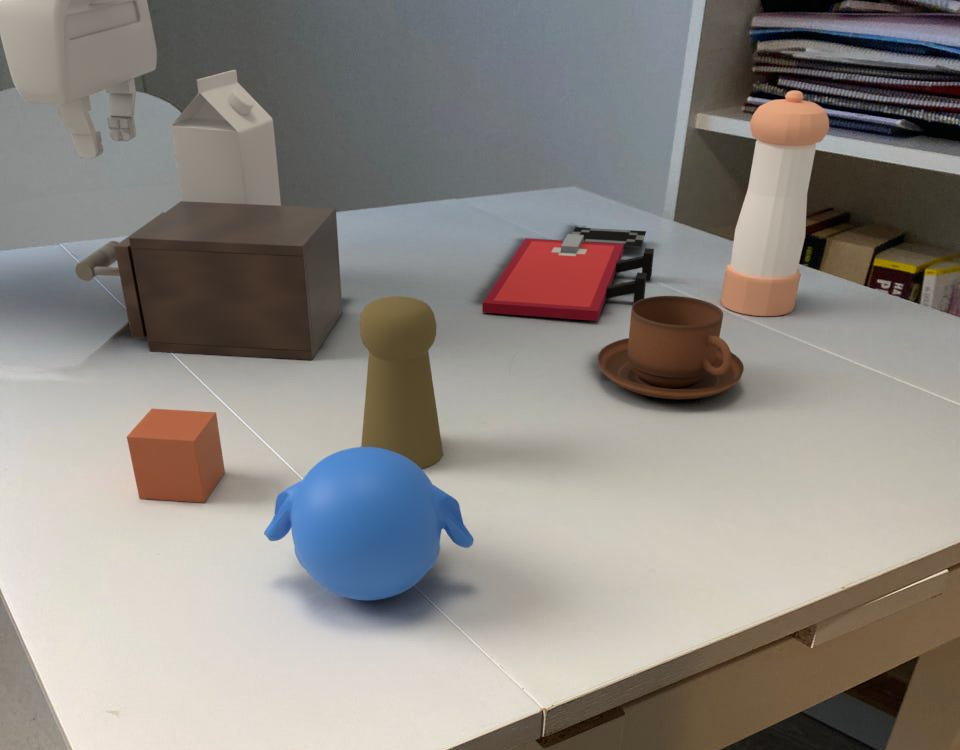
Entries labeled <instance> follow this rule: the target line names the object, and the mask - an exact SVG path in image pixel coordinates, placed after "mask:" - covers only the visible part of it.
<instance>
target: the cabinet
mask: <svg viewBox="0 0 960 750" xmlns="http://www.w3.org/2000/svg"><path fill="white" fill-rule="evenodd" d="M129 241H130V246H131V251H132V256H133V262H134V267H135V273H136V278H137V284H138V289H139V295H140V300H141V305H142V311H143V316H144V322H145V327H146V333H147V336H146V338H147V343H148V348H149V349H148V350H149V352H161V353H179V354H196V355H197V354H198V355H213V356H215V355H216V356H231V357H232V356H233V357H252V358H267V359H284V360H285V359H286V360H288V359H289V360H305V361H312V360H313V359H314V358H315V356H316V354H317V353H318V351H319V350H320V348H321V347H322V345H323V344H324V342H325V340H326V339H327V337H328V336H329V334H330V333H331V331H332V330H333V328H334V326H335V325H336V323H337V322H338V320H339V319H340V317H341V316H342V314H343V298H342V281H341V268H340V267H341V266H340V252H339V251H340V249H339V237H338V220H337V208H336V207H320V206H319V207H318V206H317V207H316V206H299V205H298V206H296V205H281V206H276V205H253V204H231V203H208V202H186V201H182V200H181V201H179V202H178V203H177V204H175V205H173V206H172V207H171V208H170V209H168V210H167V211H165V212H164V214H162V215H161V216H160V217H158V218H157V219H155V220H154V221H153V222H151V223H150V224H148V225H147V226H145V227H144V228H143V229H141V230H140V231H138V232H137V233H136V234H134V235H133V236H131V237H130V238H129Z"/></svg>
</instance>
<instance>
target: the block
mask: <svg viewBox="0 0 960 750" xmlns="http://www.w3.org/2000/svg"><path fill="white" fill-rule="evenodd" d="M126 440H127V445H128V446H127V447H128V449H129V454H130V460H131V464H132V469H133V475H134V478H135V483H136V488H137V494H138V498H139V499H143V500H144V499H145V500H159V501H173V502H188V503H190V502H191V503H203V504H204V503H206V501H207V500H208V498H209V497H210V495H211V493H212V492H213V490H214V489H215V487H216V486H217V485H218V483H219V482H220V480H221V479H222V478H223V476H224V474H225V472H226V471H225V463H224V456H223V450H222V444H221V443H222V442H221V436H220V429H219V423H218V417H217V412H216V411H202V410H201V411H200V410H199V411H198V410H182V409H169V408H168V409H167V408H151V409H150V410H149V411H148V412H147V413H146V415H145V416H143V418H142V419H141V420H140V421H139V422H138V423H137V424H136V426H134V428H133V429H132V430H131V431H130V432H129V433H128V434H127V436H126Z"/></svg>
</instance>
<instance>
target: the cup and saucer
mask: <svg viewBox="0 0 960 750" xmlns="http://www.w3.org/2000/svg"><path fill="white" fill-rule="evenodd" d="M723 318H724V312H723V310H722V309H721V308H720V307H719V306H717V305H715V303H712V302H709V301H706V300H702V299H699V298H695V297H689V296H680V295H657V296H649V297H644V299H641V300H639V301H637V302H635V303H634V304H633V303H632V306H631V311H630V321H629V333H628V338H623V339H619V340H616V341H613V342H611V343H609V344H607V345H606V346H604V347H603V348H602V349H601V350H600V351H599V352H598V356H597V360H598V366H599V369H600V370H601V372H602V373H603V374H604V375H605V376H606V377H607V378H608V379H609V380H610V381H611V382H612V383H614V384H615V385H617V386H619V387H621V388H622V389H624V390H627V391H630V392H633V393H636V394H639V395H642V396H647V397H651V398H657V399H666V400H695V399H702V398H708V397H711V396H715V395H718V394H720V393H723V392H725V391H727V390H729V389H730V388H732V387H733V386H734V385H736V384H737V383H738V382H739V381H740V379H741V378H742V376H743V373H744V369H745V367H744V366H745V365H744V363H743V361H742V360H741V358H739V357H738V356H737V355H736V354H735V353H734V352H732V351H731V349H730V346H729V344H728V343H727V342H726V341H725V340H724V339H723V338H721V337H720V335H721V332H722V331H721V330H722V324H723Z"/></svg>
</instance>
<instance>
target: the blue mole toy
mask: <svg viewBox="0 0 960 750" xmlns="http://www.w3.org/2000/svg"><path fill="white" fill-rule="evenodd" d="M274 507H275V508H274V516H273V517H272V519H271V521H270V523H269V524H268V525H267V527H266V528H265V530H264V532H263V534H264V536H265V537H266V538H267V540H268V541H270V542H277V541H280V540H282V539H284V538H285V537H286V536H287V535H288V534H289V533H290V531H291V536H292V541H293V542H292V543H293V547H294V555H295V557H296V559H297V561H298V563H299V564H300V566H301V567H302V568H303V569H304V570H305V571H306V572H307V573H308V575H309V576H310V578H312V579H313V580H314V581H315V582H316V583H317V584H318V585H320V586H321V587H322V588H324V589H326V590H327V591H329V592H331V593H332V594H335V595H337V596H339V597H340V596H341V597H343V598H347V599H351V600H356V601H379V600H385V599H389V598H392V597H394V596H397V595H400V594H403V593H405V592H406V591H408V590H409V589H411V588H413V587H414V586H416V585H417V584H418V583H419V582H420V581H421V580H422V579H423V578H424V577H425V576H426V575H427V573H428V572H429V571H430V570H431V569H432V568H433V567H434V565H435V564H436V562H437V560H438V559H439V555H440V552H441V535H442V530H444V531H445V533H446V534H447V536H448V537H449V539H450V540H451V541H452V542H453V543H454V544H456V545H457V546H458V547H461V548H465V549H467V548H468V549H469V548H470V547H472V546H473V544H474V540H475V539H474V537H473V535H472V534H471V532H470V531H469V530H468V529H467V527H466V525H465V523H464V520H463V516H462V511H461V506H460V503H459V501H458V500H457V498H455V497H453V496H452V495H450V494H449V493H447V492H446V491H444V490H442V489H440V488H439V487H438V486H436V485H434V483H432V481H431V479H430V477H429V476H428V475H427V474H426V473H425V471H424V470H423V469H421V468H420V467H419V466H418V465H416V464H415V463H414V462H413V461H411V460H410V459H408V458H406V457H405V456H403V455H401V454H398V453H396V452H393V451H390V450H387V449H382V448H376V447H361V446H357V447H350V448H346V449H343V450H339V451H337V452H334V453H332V454H330V455H328V456H326V457H325V458H323V459H321V460H320V461H318V462H317V463H316V464H315V465H314V466H312V467H311V469H309V471H308V472H307V473H306V474H305V476H304V477H303V478H302V480H300V481H298V482H296V483H294V484H292V485H290V486H288V487H287V488H285V489H283V490H282V491H281V492H279V493H278V495H276V498H275V506H274Z"/></svg>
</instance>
